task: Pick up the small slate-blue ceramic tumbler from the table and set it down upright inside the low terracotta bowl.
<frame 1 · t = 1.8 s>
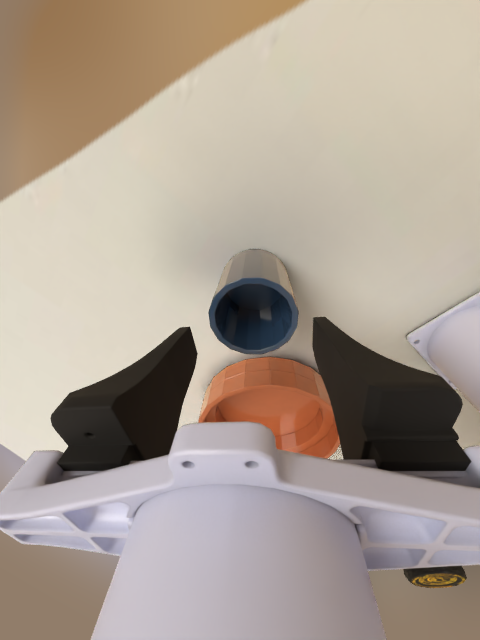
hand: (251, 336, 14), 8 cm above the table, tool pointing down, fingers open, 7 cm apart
cup: (254, 281, 21), on the table
condiment: (377, 458, 34), on the table
clay bowl: (267, 401, 29), on the table
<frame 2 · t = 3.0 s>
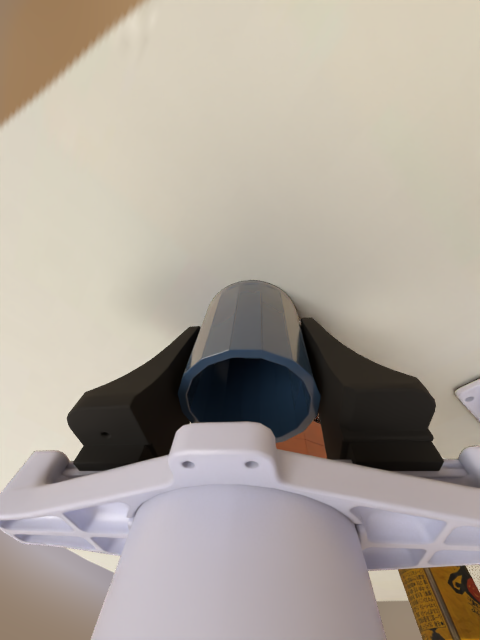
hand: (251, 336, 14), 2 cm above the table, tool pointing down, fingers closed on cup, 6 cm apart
cup: (251, 322, 16), on the table, touching gripper
condiment: (400, 516, 28), on the table
clay bowl: (268, 458, 23), on the table
when the fingers open (2 cm above the table, at t = 8.4 s): cup stays where it is, resting on clay bowl.
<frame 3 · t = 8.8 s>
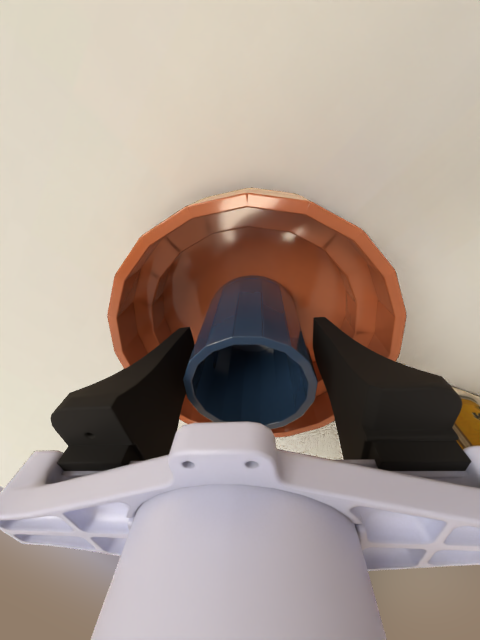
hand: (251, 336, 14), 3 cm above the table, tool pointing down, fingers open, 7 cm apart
cup: (252, 316, 16), point 1 cm above the table, touching clay bowl
condiment: (428, 420, 22), on the table
clay bowl: (252, 311, 17), on the table
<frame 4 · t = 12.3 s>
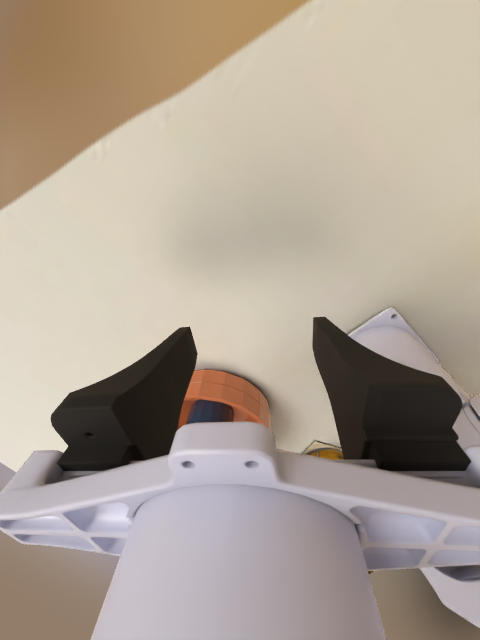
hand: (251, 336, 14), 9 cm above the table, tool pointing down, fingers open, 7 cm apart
cup: (212, 412, 32), point 1 cm above the table, touching clay bowl
condiment: (321, 459, 37), on the table
clay bowl: (213, 408, 32), on the table
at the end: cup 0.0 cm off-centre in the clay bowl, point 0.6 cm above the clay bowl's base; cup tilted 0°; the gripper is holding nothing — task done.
